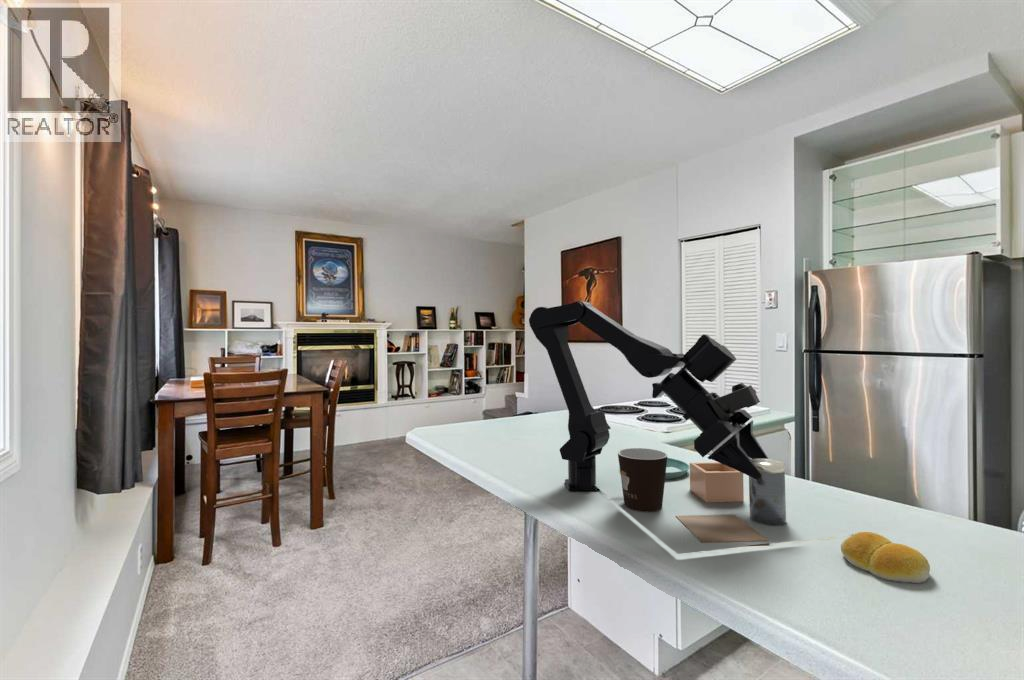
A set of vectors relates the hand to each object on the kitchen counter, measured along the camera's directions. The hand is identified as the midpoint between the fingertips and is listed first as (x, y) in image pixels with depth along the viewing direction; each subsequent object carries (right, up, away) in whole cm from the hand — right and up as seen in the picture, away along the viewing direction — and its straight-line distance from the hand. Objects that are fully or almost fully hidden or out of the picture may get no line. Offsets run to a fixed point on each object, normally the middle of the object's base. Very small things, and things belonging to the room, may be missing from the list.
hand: (764, 470), depth 75 cm
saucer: (-9, -9, +29) cm, 31 cm away
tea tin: (0, -9, 0) cm, 9 cm away
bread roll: (+8, -9, -15) cm, 19 cm away
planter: (-3, -9, +12) cm, 15 cm away
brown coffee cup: (-18, -9, +8) cm, 22 cm away
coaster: (-9, -9, -3) cm, 13 cm away
